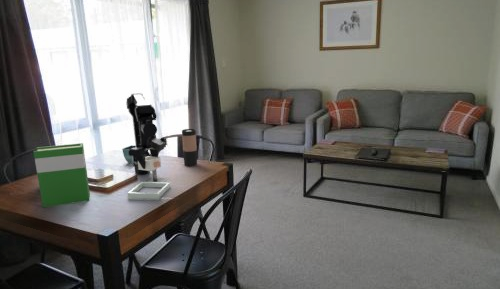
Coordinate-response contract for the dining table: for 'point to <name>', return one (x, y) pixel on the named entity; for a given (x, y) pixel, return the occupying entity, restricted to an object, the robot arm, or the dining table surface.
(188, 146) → the travel mug
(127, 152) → the flower pot
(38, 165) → the hardback book
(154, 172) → the stand
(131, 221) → the dining table surface
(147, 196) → the tray
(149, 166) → the collar
